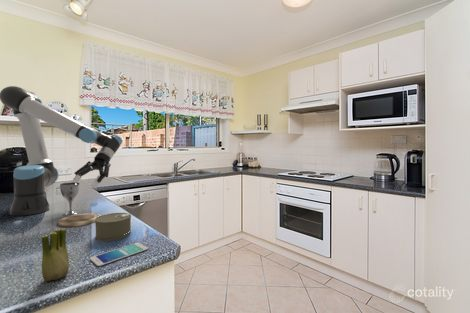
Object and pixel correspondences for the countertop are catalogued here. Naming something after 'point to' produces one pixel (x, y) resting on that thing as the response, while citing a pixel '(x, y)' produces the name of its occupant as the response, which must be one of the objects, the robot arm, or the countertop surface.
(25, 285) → the countertop surface
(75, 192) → the wine glass
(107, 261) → the smartphone
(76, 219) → the trivet
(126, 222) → the can
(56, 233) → the fennel bulb
